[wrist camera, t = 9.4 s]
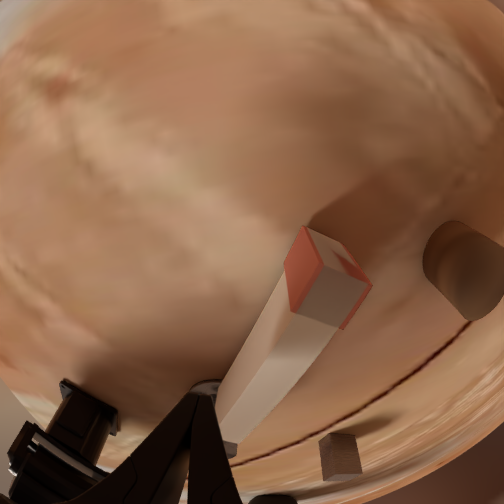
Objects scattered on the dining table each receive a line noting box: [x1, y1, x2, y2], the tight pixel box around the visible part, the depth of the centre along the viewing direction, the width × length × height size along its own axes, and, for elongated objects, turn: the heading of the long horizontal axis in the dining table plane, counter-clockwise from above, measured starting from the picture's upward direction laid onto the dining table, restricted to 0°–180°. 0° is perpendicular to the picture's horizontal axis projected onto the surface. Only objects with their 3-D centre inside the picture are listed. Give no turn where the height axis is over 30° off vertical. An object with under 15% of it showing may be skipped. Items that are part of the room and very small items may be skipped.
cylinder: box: [423, 221, 504, 321], centre depth 11 cm, size 4×4×4 cm
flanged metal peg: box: [189, 380, 237, 459], centre depth 16 cm, size 5×5×4 cm
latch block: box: [319, 433, 363, 481], centre depth 18 cm, size 2×3×4 cm, turn 67°
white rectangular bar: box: [215, 226, 373, 444], centre depth 13 cm, size 12×2×4 cm, turn 157°
